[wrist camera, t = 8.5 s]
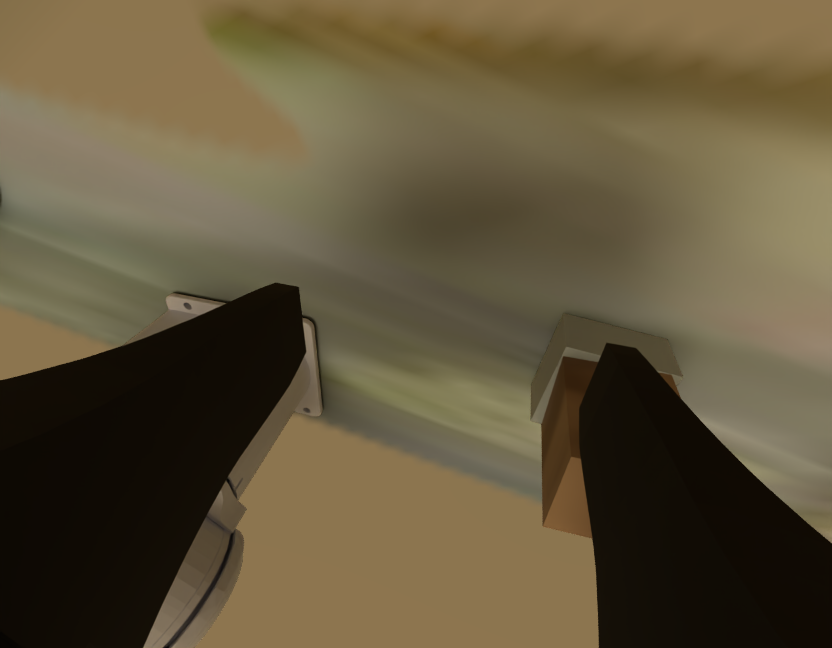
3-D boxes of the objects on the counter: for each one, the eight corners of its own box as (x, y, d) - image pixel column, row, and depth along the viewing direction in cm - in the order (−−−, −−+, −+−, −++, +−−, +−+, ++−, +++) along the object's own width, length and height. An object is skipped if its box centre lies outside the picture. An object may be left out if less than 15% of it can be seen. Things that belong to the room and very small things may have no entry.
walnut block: (541, 424, 21) (542, 526, 17) (563, 356, 19) (571, 456, 14) (635, 442, 20) (662, 555, 16) (671, 374, 18) (715, 487, 13)
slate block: (531, 381, 24) (530, 420, 21) (563, 310, 21) (566, 346, 18) (620, 405, 23) (629, 448, 21) (666, 336, 20) (683, 377, 18)
